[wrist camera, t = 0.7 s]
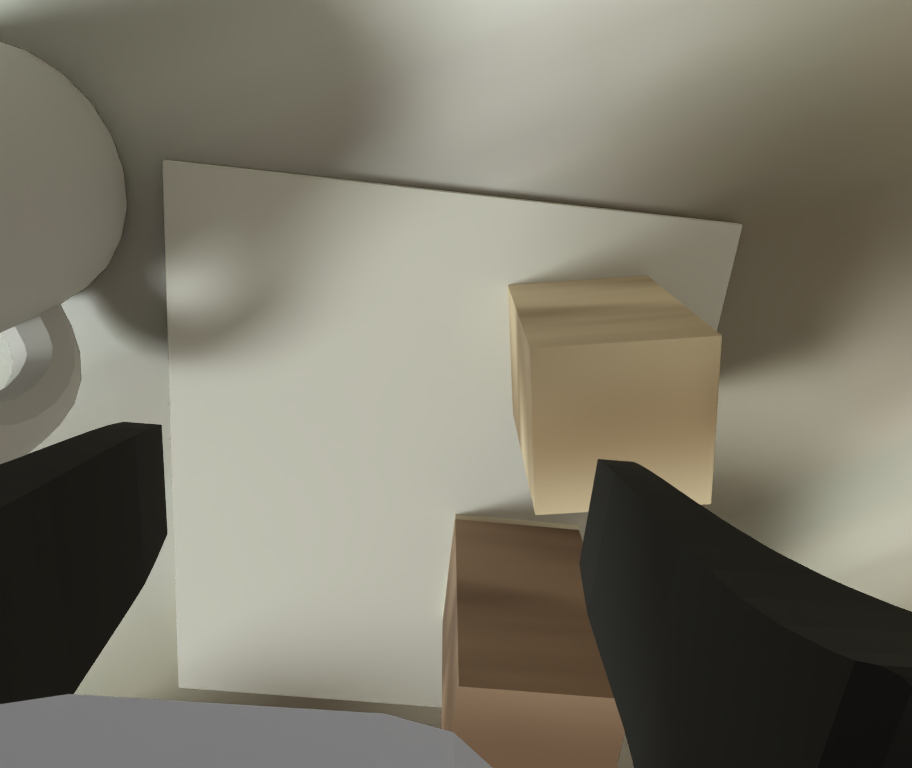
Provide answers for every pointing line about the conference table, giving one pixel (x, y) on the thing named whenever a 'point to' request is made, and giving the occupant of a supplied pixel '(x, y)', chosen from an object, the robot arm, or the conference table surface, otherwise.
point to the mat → (359, 407)
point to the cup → (48, 237)
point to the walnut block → (524, 649)
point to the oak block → (611, 386)
